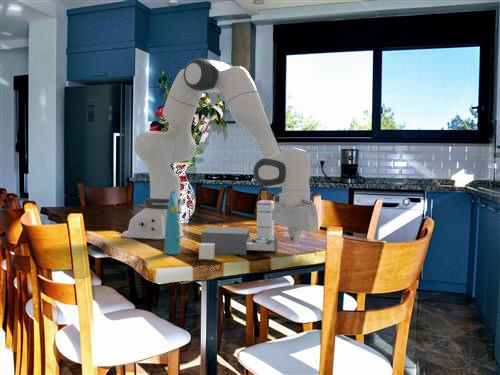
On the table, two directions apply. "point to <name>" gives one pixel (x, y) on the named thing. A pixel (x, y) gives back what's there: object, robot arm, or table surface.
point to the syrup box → (265, 219)
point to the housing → (226, 239)
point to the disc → (261, 240)
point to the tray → (263, 245)
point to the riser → (207, 251)
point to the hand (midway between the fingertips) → (294, 242)
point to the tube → (172, 226)
